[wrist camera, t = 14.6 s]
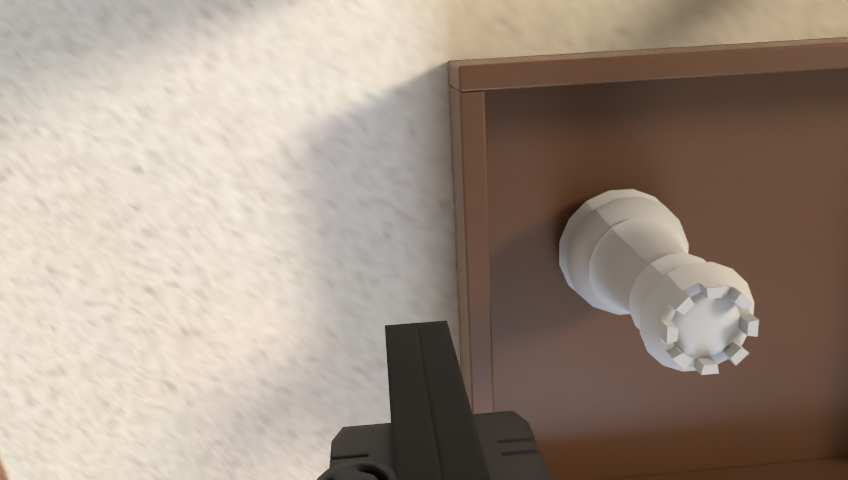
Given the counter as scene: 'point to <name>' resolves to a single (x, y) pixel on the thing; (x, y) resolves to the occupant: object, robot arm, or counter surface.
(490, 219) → the tray
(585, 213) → the rook chess piece
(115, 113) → the counter surface
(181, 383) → the counter surface
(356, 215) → the counter surface
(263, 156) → the counter surface
